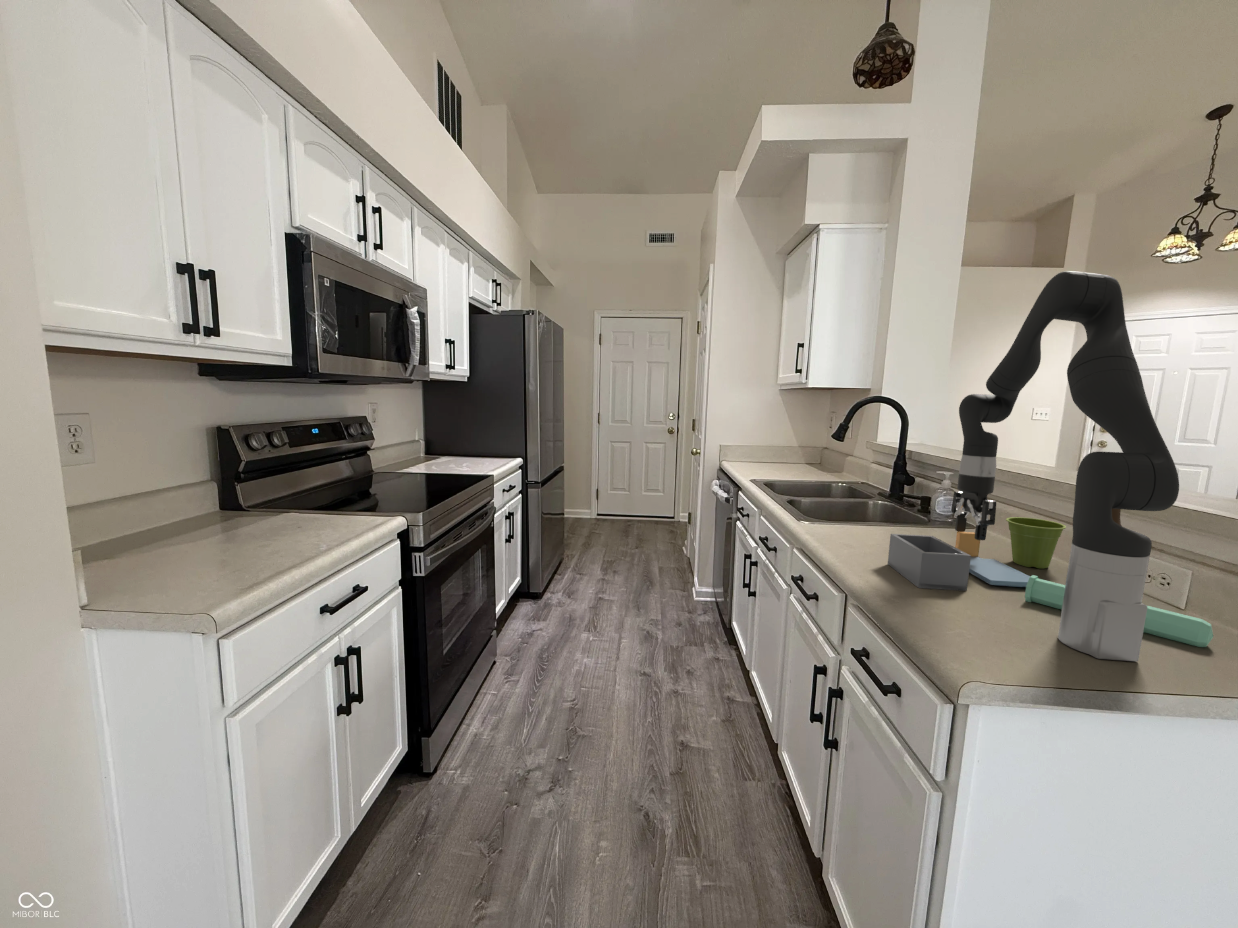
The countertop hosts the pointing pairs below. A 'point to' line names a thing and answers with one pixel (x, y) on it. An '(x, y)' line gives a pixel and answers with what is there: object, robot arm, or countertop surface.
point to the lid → (989, 564)
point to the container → (1155, 622)
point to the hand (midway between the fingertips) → (969, 535)
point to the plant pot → (1033, 540)
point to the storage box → (929, 562)
